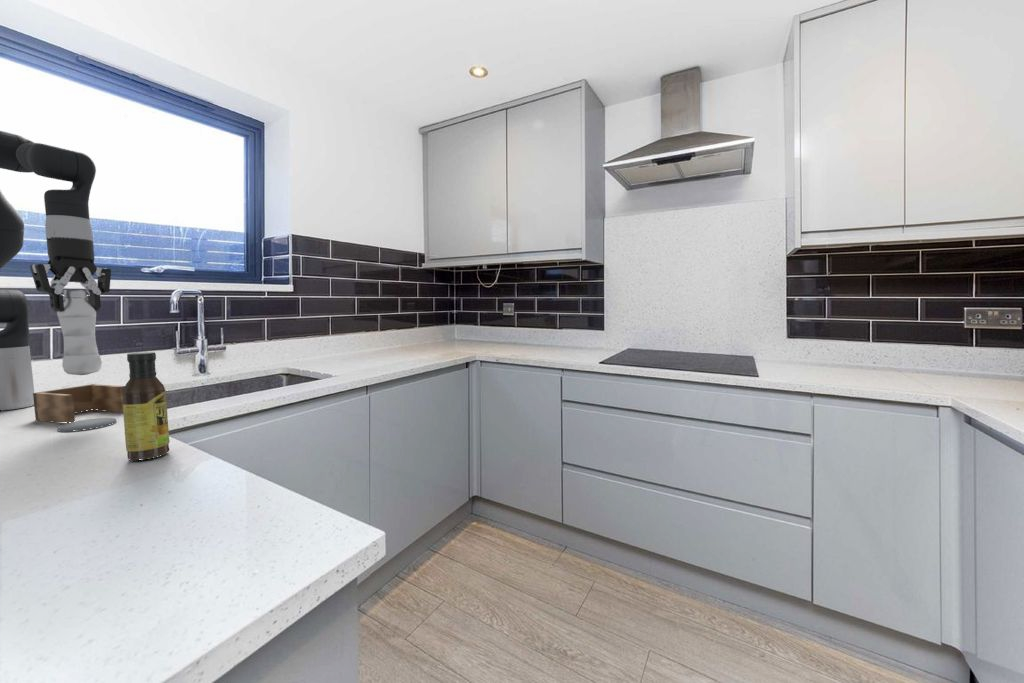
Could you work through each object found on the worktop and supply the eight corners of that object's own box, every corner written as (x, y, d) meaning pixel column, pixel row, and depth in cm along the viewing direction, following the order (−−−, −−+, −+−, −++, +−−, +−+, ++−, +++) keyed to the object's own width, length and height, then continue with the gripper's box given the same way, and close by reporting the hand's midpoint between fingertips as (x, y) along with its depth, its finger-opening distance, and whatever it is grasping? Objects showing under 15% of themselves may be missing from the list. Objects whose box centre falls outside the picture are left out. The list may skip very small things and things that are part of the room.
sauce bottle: (168, 458, 80) (160, 353, 78) (124, 465, 77) (114, 355, 75) (172, 448, 85) (164, 350, 84) (130, 454, 82) (122, 352, 80)
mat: (46, 430, 99) (46, 427, 99) (98, 418, 108) (98, 416, 108) (76, 433, 96) (75, 430, 96) (126, 421, 106) (126, 419, 105)
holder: (35, 420, 107) (32, 393, 106) (95, 408, 119) (93, 384, 118) (68, 424, 104) (66, 395, 103) (126, 411, 116) (124, 386, 115)
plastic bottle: (110, 372, 104) (103, 290, 102) (79, 377, 98) (71, 289, 96) (86, 372, 105) (79, 290, 103) (54, 377, 98) (45, 289, 96)
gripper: (96, 243, 106) (102, 310, 108) (16, 234, 92) (24, 311, 94) (117, 241, 104) (123, 310, 106) (39, 232, 90) (47, 311, 92)
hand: (76, 310), depth 100 cm, fingers closed on plastic bottle, 6 cm apart
